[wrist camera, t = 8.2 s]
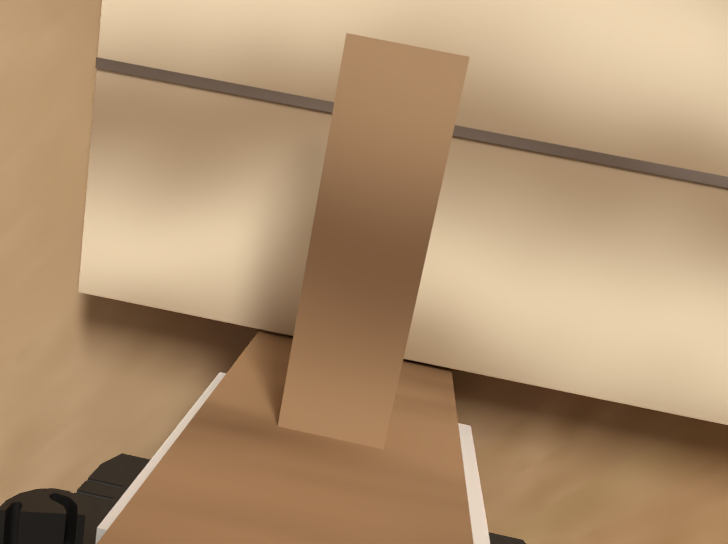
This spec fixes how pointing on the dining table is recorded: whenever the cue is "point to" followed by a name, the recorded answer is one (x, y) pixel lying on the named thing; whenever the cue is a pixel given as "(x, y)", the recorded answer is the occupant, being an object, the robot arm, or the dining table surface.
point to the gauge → (337, 352)
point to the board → (459, 186)
